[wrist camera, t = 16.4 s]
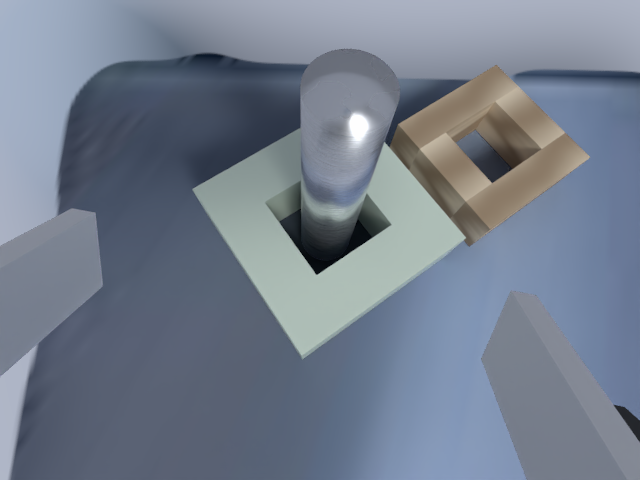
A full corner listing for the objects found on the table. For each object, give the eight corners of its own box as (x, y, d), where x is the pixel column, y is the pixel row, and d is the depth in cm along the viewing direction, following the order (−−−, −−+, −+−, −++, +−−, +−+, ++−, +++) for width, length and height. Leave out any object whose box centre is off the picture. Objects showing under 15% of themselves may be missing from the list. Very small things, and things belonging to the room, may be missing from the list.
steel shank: (359, 243, 33) (420, 100, 16) (319, 269, 32) (339, 148, 15) (330, 206, 34) (360, 34, 17) (291, 231, 33) (280, 76, 16)
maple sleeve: (559, 180, 35) (590, 157, 32) (469, 246, 33) (490, 229, 29) (477, 95, 38) (496, 64, 34) (388, 151, 36) (398, 124, 32)
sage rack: (442, 258, 33) (466, 237, 28) (302, 359, 30) (301, 356, 25) (343, 136, 36) (348, 100, 31) (208, 216, 33) (192, 189, 28)
